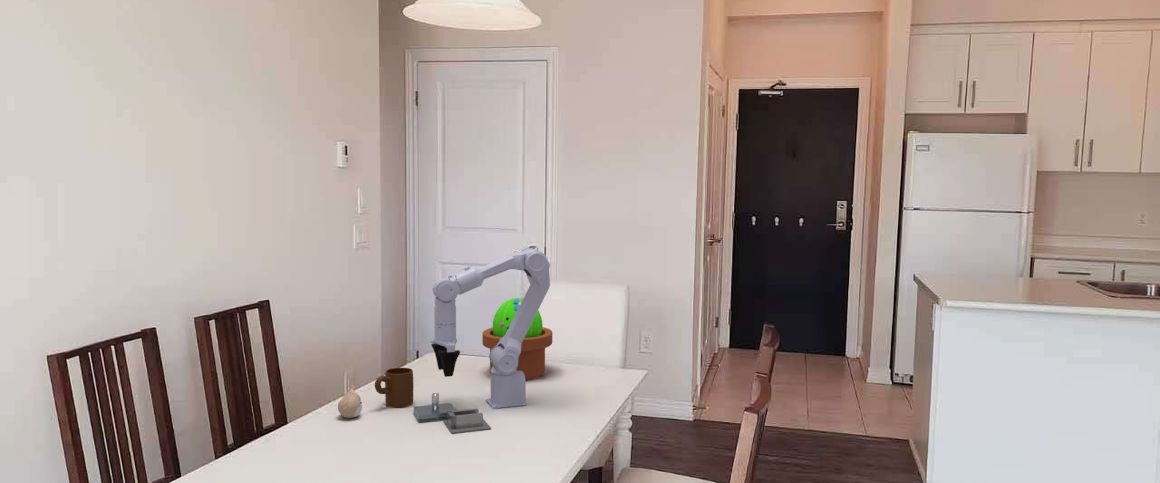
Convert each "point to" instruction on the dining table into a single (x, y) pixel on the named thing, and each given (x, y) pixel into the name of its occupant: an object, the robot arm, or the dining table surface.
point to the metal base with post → (433, 410)
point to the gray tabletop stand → (464, 418)
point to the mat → (468, 428)
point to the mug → (396, 387)
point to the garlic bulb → (350, 404)
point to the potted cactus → (532, 344)
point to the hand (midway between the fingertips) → (445, 372)
